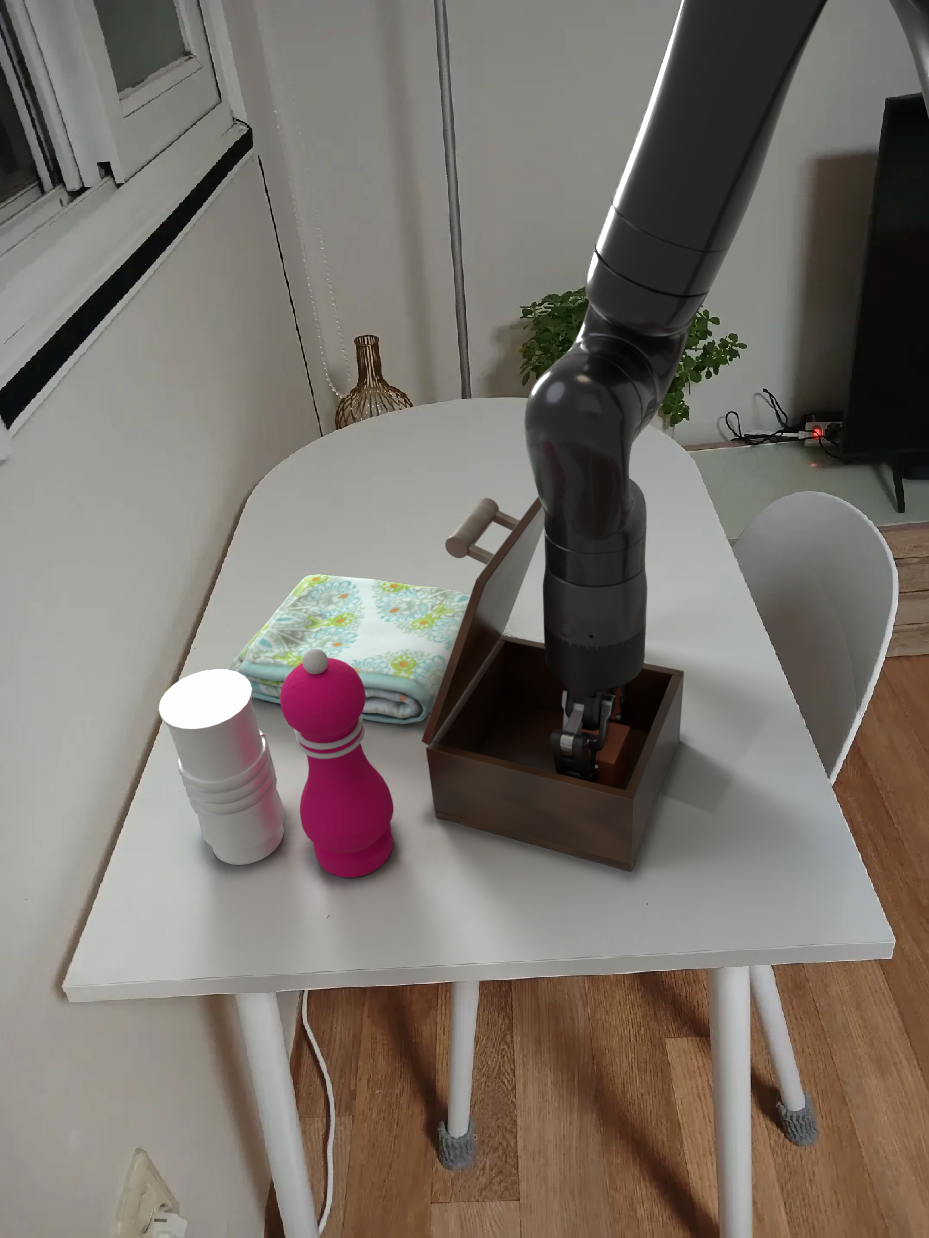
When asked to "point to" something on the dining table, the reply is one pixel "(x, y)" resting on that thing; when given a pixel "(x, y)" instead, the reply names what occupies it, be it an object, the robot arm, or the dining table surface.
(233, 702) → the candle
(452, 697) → the lid
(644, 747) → the chest
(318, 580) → the towel
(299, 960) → the dining table surface
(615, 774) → the block
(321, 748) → the pepper mill
